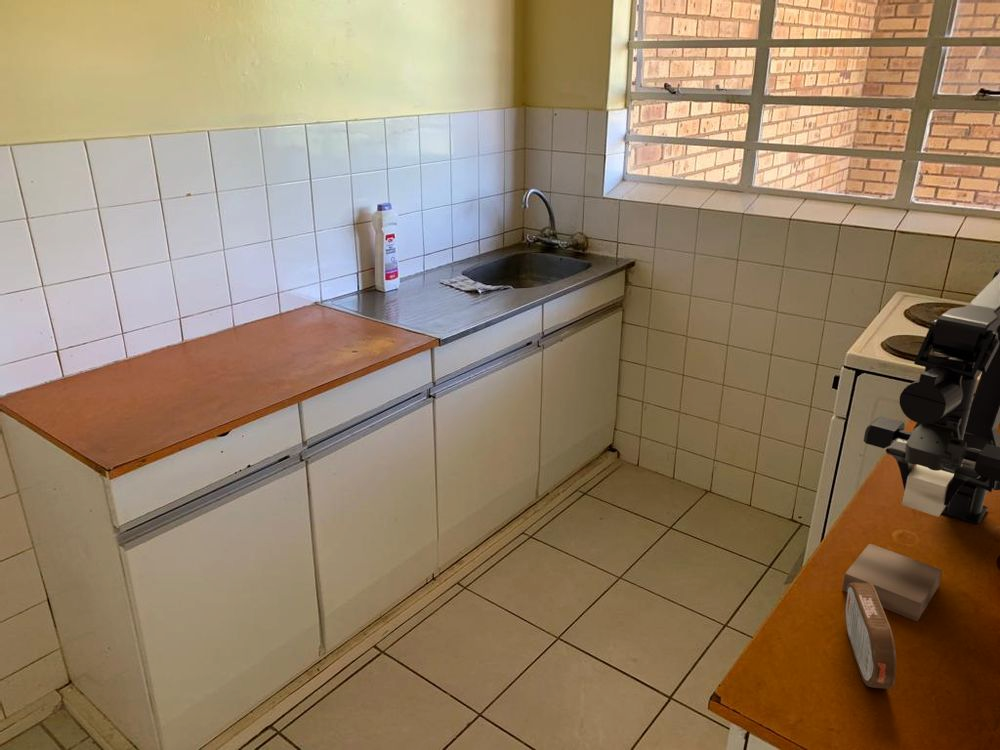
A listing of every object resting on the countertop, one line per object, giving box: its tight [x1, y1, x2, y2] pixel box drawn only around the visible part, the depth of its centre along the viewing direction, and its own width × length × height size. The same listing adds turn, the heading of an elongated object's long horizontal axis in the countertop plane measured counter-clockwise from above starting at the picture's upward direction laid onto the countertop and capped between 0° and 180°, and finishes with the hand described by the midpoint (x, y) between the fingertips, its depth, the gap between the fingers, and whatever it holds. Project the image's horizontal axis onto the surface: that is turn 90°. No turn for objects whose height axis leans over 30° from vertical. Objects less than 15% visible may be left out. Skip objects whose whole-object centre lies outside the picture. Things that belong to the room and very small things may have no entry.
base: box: [841, 543, 943, 622], centre depth 108 cm, size 10×10×3 cm
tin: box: [844, 582, 897, 690], centre depth 94 cm, size 15×3×8 cm, turn 168°
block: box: [901, 464, 954, 518], centre depth 112 cm, size 5×5×5 cm
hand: (926, 498), depth 112 cm, fingers closed on block, 5 cm apart
